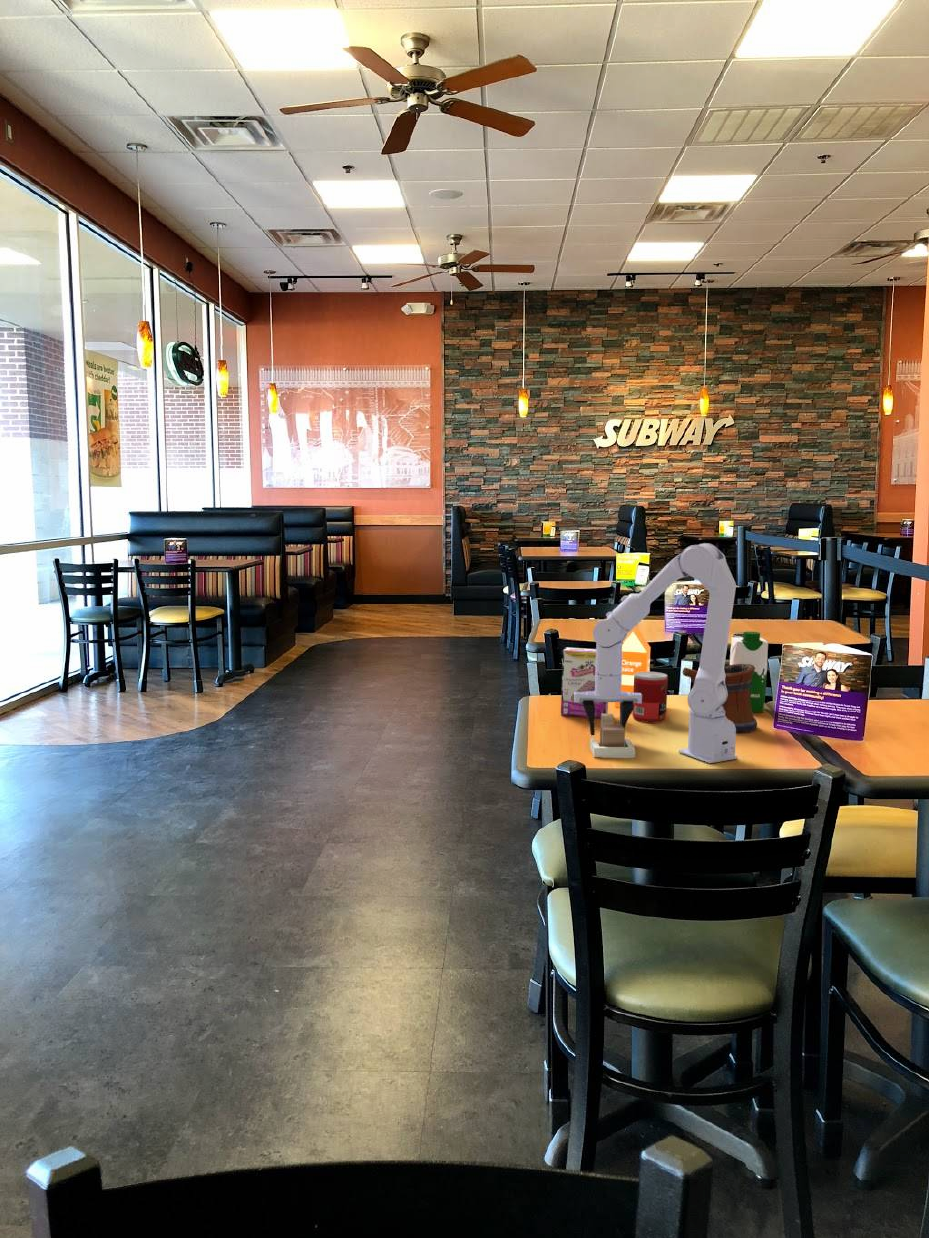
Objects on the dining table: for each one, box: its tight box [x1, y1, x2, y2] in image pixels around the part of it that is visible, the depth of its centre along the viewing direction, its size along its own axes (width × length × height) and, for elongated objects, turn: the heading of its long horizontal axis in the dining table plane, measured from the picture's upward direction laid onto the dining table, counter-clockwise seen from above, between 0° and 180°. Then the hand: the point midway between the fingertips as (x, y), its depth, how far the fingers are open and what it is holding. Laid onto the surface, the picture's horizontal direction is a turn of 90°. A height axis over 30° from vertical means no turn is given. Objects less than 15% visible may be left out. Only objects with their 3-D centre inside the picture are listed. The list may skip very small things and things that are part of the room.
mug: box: [682, 664, 758, 733], centre depth 217 cm, size 18×12×15 cm, turn 96°
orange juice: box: [614, 625, 652, 709], centre depth 239 cm, size 8×9×20 cm
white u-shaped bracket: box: [589, 737, 636, 759], centre depth 196 cm, size 8×8×2 cm
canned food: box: [632, 671, 669, 723], centre depth 225 cm, size 8×8×11 cm
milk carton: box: [729, 631, 769, 714], centre depth 235 cm, size 9×9×20 cm
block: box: [599, 713, 626, 747], centre depth 200 cm, size 12×4×6 cm, turn 179°
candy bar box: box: [560, 647, 609, 719], centre depth 227 cm, size 11×5×16 cm, turn 76°
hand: (606, 734), depth 205 cm, fingers open, 6 cm apart
